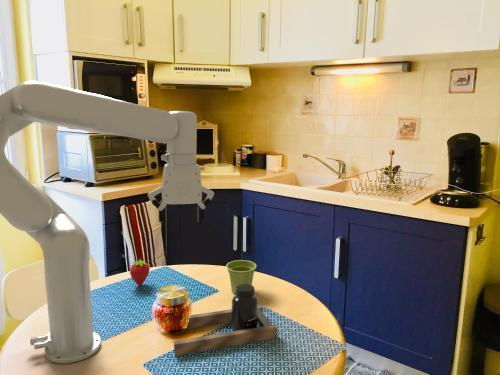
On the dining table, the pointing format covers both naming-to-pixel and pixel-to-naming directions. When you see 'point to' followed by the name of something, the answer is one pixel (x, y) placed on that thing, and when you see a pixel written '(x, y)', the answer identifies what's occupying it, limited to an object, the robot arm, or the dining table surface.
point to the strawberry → (139, 272)
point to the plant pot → (240, 273)
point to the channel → (224, 339)
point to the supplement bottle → (244, 308)
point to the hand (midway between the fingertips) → (181, 223)
